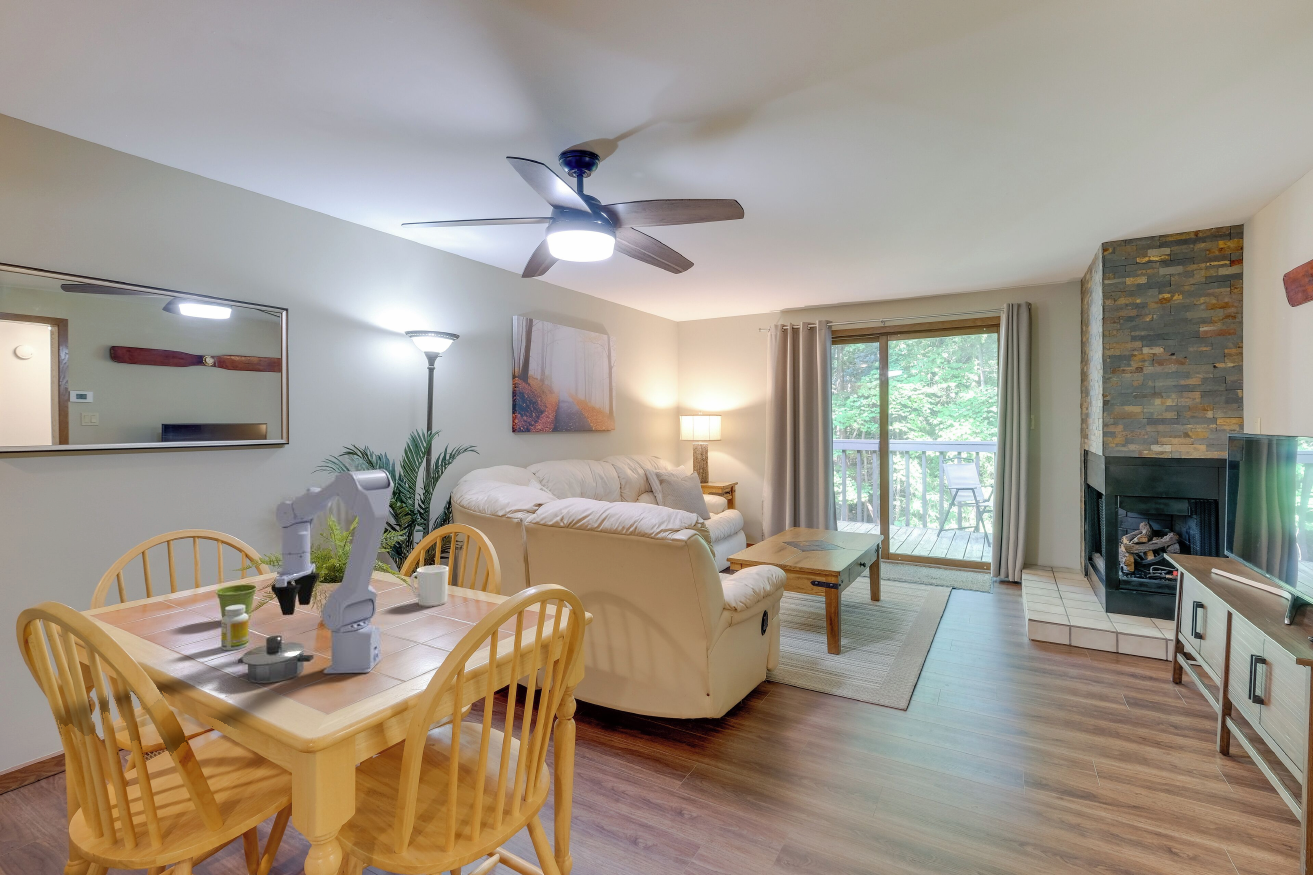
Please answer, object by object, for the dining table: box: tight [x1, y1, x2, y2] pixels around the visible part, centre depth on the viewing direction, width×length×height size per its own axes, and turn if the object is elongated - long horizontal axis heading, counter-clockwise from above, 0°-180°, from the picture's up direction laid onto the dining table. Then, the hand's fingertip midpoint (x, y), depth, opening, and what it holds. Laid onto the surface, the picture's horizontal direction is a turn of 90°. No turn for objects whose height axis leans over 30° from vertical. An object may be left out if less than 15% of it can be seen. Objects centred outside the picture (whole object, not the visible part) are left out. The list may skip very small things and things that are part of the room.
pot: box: [237, 653, 314, 685], centre depth 131 cm, size 15×10×4 cm
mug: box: [410, 564, 449, 608], centre depth 182 cm, size 11×9×10 cm
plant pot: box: [214, 583, 258, 620], centre depth 166 cm, size 9×9×9 cm
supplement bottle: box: [220, 605, 250, 651], centre depth 147 cm, size 5×5×10 cm
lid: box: [241, 635, 305, 666], centre depth 131 cm, size 11×11×5 cm
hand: (296, 609), depth 144 cm, fingers open, 7 cm apart
